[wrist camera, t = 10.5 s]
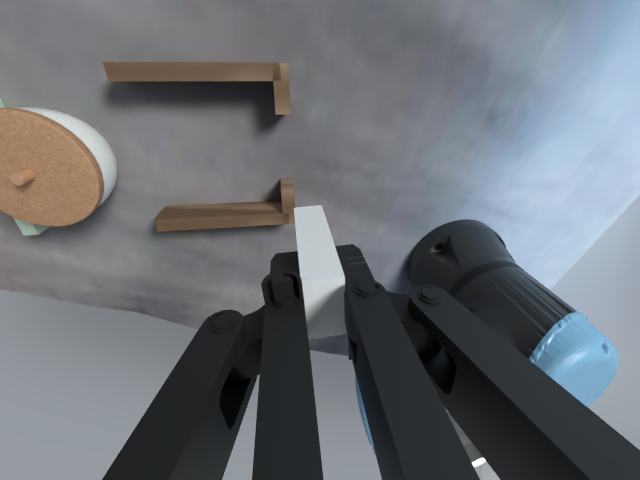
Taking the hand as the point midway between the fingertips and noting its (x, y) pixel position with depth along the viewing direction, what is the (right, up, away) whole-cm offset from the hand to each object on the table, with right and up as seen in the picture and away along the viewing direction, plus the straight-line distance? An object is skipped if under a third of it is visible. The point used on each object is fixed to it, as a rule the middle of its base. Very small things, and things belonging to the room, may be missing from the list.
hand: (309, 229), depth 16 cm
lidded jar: (-26, +9, +17) cm, 32 cm away
